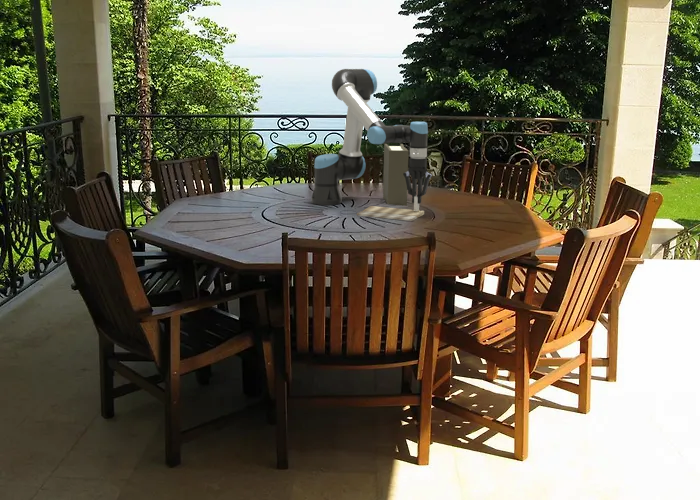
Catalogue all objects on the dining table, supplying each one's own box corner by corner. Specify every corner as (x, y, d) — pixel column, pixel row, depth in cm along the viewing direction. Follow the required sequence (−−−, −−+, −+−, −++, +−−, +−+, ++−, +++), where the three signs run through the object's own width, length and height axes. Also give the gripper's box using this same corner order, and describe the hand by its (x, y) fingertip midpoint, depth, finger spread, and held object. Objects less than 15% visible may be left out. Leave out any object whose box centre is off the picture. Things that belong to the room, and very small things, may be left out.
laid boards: (356, 217, 295) (356, 213, 294) (362, 214, 300) (362, 210, 299) (412, 222, 284) (412, 218, 284) (416, 220, 289) (416, 216, 289)
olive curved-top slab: (406, 207, 321) (408, 149, 313) (387, 207, 320) (389, 149, 313) (401, 198, 342) (402, 143, 334) (382, 198, 341) (384, 143, 333)
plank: (363, 214, 301) (363, 210, 300) (370, 209, 309) (370, 205, 308) (417, 219, 290) (417, 215, 290) (424, 214, 298) (424, 210, 298)
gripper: (401, 157, 290) (399, 210, 296) (429, 159, 285) (427, 213, 291) (407, 156, 297) (405, 207, 303) (434, 157, 291) (432, 210, 297)
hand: (416, 210), depth 297 cm, fingers closed
